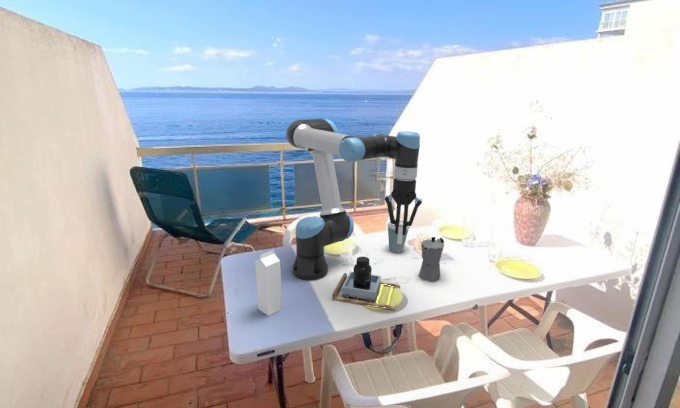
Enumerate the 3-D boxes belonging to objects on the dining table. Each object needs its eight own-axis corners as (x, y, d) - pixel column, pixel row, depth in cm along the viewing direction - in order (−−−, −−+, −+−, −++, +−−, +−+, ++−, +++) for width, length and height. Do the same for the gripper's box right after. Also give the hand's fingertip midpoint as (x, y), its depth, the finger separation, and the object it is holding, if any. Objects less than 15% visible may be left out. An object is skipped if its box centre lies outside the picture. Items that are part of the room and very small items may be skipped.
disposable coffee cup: (382, 247, 173) (383, 219, 169) (401, 245, 177) (403, 217, 172) (391, 256, 164) (393, 226, 159) (411, 253, 167) (414, 224, 162)
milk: (282, 308, 122) (280, 252, 116) (268, 316, 118) (266, 258, 111) (270, 302, 126) (268, 246, 119) (257, 309, 121) (254, 252, 115)
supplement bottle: (369, 293, 129) (370, 264, 125) (351, 291, 130) (352, 262, 126) (371, 283, 135) (372, 256, 132) (354, 281, 136) (355, 254, 133)
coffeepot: (431, 286, 138) (435, 245, 133) (411, 278, 144) (414, 238, 139) (449, 273, 149) (454, 234, 143) (430, 266, 155) (434, 228, 150)
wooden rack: (332, 299, 128) (332, 294, 127) (344, 278, 143) (344, 273, 143) (394, 310, 122) (395, 304, 121) (400, 286, 137) (400, 281, 137)
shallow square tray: (341, 298, 128) (341, 288, 127) (350, 279, 141) (350, 270, 140) (374, 303, 125) (375, 293, 124) (380, 284, 138) (381, 275, 137)
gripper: (384, 179, 114) (379, 244, 122) (424, 182, 111) (417, 249, 118) (387, 174, 121) (383, 236, 128) (425, 177, 118) (418, 240, 125)
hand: (399, 242), depth 123 cm, fingers closed
